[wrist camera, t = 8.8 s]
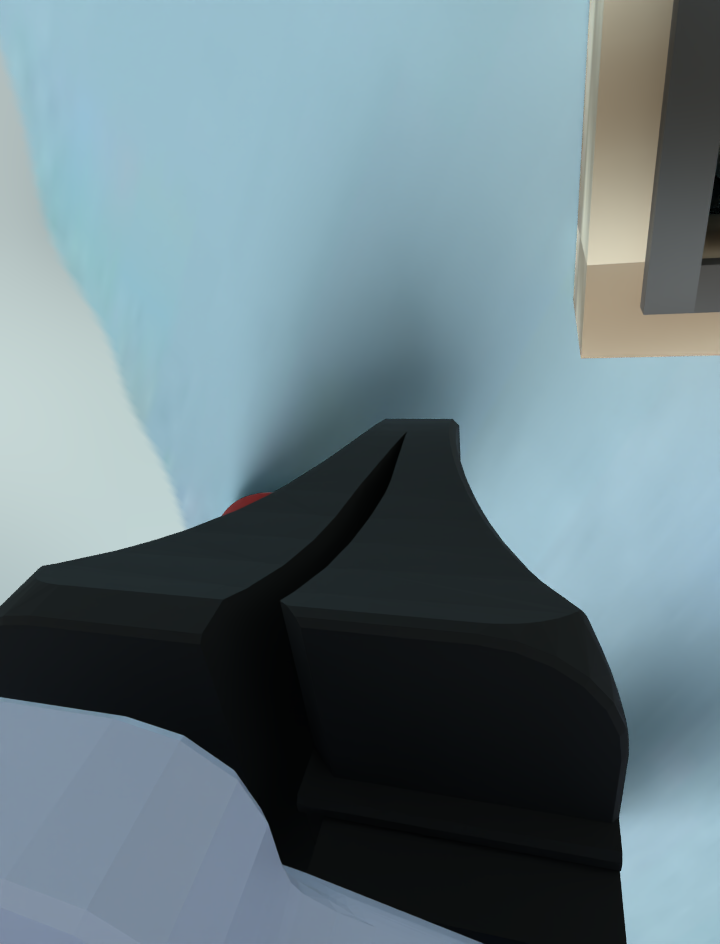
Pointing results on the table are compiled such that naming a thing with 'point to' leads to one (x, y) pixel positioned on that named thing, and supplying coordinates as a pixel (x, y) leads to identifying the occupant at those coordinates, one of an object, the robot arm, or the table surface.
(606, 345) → the birch block
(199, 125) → the table surface
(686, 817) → the table surface
